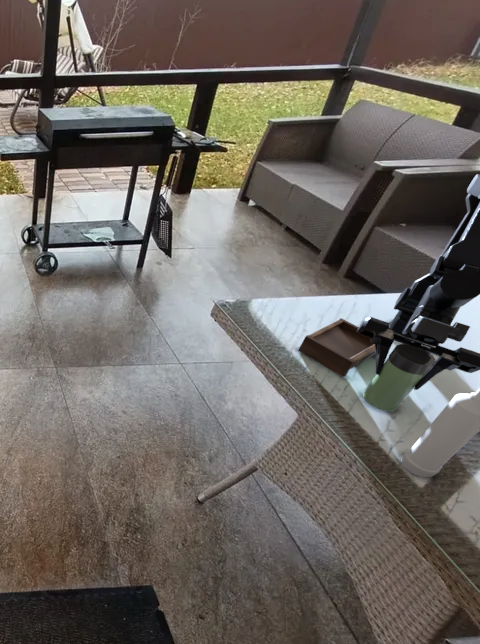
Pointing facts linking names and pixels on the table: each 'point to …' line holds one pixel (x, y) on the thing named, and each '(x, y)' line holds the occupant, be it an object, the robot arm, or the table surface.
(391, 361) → the spice jar
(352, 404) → the table surface
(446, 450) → the bottle
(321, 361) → the wooden tray
